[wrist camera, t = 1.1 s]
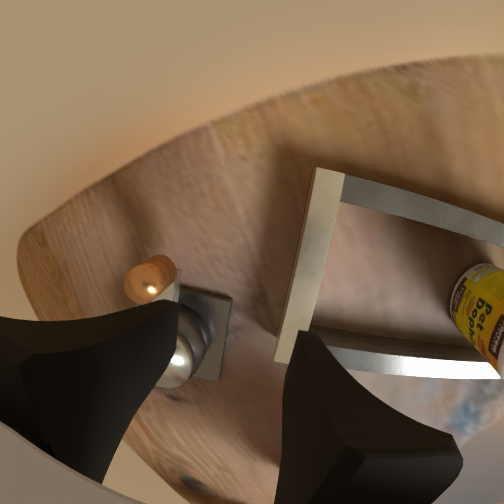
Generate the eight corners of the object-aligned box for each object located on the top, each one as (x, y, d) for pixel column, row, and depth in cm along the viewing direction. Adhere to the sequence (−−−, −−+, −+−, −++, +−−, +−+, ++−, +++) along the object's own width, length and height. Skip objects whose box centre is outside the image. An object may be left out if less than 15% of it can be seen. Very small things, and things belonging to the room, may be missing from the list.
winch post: (219, 378, 22) (210, 402, 19) (138, 354, 23) (121, 373, 20) (232, 298, 20) (222, 317, 17) (139, 276, 21) (118, 289, 18)
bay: (487, 363, 19) (502, 381, 16) (276, 338, 20) (273, 361, 18) (532, 238, 16) (554, 246, 13) (313, 169, 18) (316, 167, 15)
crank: (192, 387, 19) (175, 421, 15) (134, 368, 19) (109, 397, 15) (207, 259, 16) (184, 279, 13) (136, 243, 17) (102, 258, 13)
